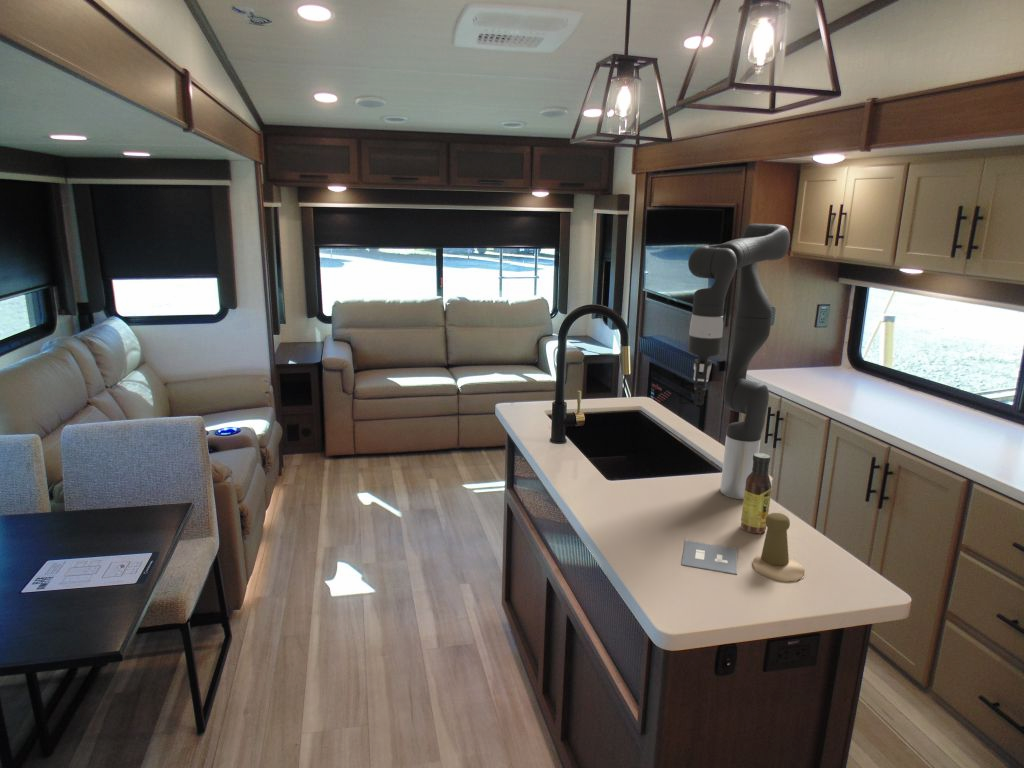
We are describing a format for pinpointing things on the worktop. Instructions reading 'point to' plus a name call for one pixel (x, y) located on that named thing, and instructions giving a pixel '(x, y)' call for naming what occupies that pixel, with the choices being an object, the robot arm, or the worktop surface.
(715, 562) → the tile
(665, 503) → the worktop surface
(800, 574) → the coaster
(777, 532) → the pepper shaker
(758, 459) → the sauce bottle
